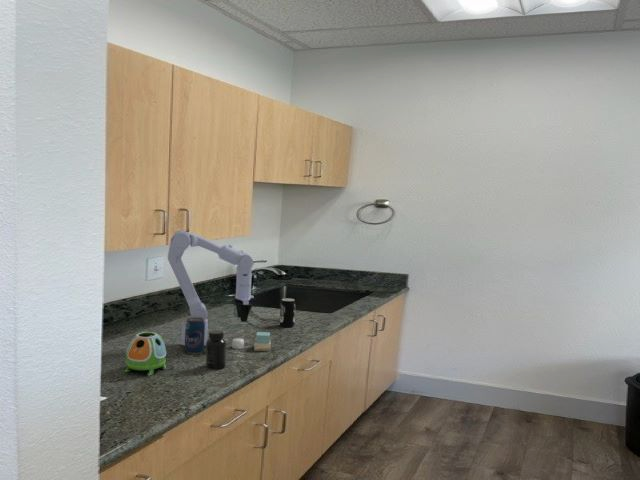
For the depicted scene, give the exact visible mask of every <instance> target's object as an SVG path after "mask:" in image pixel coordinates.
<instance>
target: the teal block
mask: <svg viewBox="0 0 640 480" xmlns="http://www.w3.org/2000/svg"><path fill="white" fill-rule="evenodd" d="M255 336H256V337H255V339H256V343H267V344H269V343H270V340H271V332H266V331H265V332H264V331H257V332H256V335H255Z"/></svg>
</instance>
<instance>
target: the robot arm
mask: <svg viewBox="0 0 640 480" xmlns="http://www.w3.org/2000/svg"><path fill="white" fill-rule="evenodd" d="M189 246H190V247H191V248H194V247H200V248H203V249H205V250H208V251H210V252H213V253H215V254H217V256H218V258H219V259H220V260H223V261H225V262H227V263H229V264H231V265H233V266H235V265H236V266H237V268H236V269H237V272H236V282H235V286H236V287H235V296H234V297H235V298H233V301H234V303H235V304H234V305H235V308H236V313H237V314H236V315H237V317H238V318H240V322H242V323H245V322H248V318H249V315H250V311H251V309H252V308H253V304H252V303H250V302H249V301H250V300H251V299H255V297H254V295H252V277H253V276H252V275H253V274H252V268H253V266H254V260H253V258H252V256H251V255H250V254H247V252H244V251H243V250H238V249H236V248H233V245H231V244H228V245H227V244H224V245H219V244H217V243H215V242H213V241H211V240H209V239H207V238H205V237H202V236H200V235H199V234H196V233H193V232H188V231H186V230H183V229H180V230H177V231H175V232H174V233H173V235H172V237H171V239H170V243H169V247H168V248H169V249H168V253H167V262H169V264H170V267H171V270H172V272H173V274H174V276H175V278H176V280H177V282H178V285H179V287H180V289H181V292H182V293H183V295H184V298H185V300H186V302H187V305H188V308H189V313H190V318H202V319H203V321H204V323H205V336H204V347H206V342H207V340H208V328H209V326H208V324H209V323H208V322H209V320H208V315H209V314H208V309H207V307H206V305H205V303H204V302H202V301H201V299H200V297H199V295H198V294H197V293H198V292H197V291H196V289H195V286H194V284H193V282H192V279H191V278H190V276H189V273H188V271H187V269H186V266H185V265H184V262H183V260H182V257H183V255H184V253H185V251H186V250H187V249H188V248H189ZM185 325H186V323H184V324H183V325H182V326H181V330H180V331H181V333H180V334H181V336H180V337H181V338H180V343H179V345H181V346H184V347H185Z"/></svg>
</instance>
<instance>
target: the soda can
mask: <svg viewBox="0 0 640 480" xmlns="http://www.w3.org/2000/svg"><path fill="white" fill-rule="evenodd" d="M185 322H186V323H185V324H186V325H185V346H184V350H185V351H186V353H188V354H194V355H195V354H201V353H202V352H203V351H204V350H205V346H204V336H205V323H204V321H203V319H202V318H191V317H190V318H189V317H188V318H187V321H185Z"/></svg>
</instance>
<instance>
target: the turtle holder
mask: <svg viewBox="0 0 640 480" xmlns="http://www.w3.org/2000/svg"><path fill="white" fill-rule="evenodd" d="M166 348H167V347H166V345H165V342H164V339H163V336H162V335H160V334H159V333H157V332H154V331H142V332H139V333H136V334H135V337H134V338H132V339H131V341H130V343H129V345H128V346H127V349H126V352H125V365H126V367H127V368H126V369H125V372H126V373H130V372H132V370H134V371H148V372H147V375H146V376H148V377H151V376H153V375H154V374H155V373H154V372H155V370H156V369H159V368H161V370H162V369H164V370H166V369H167V366H166V362H167V360H166V355H167V349H166ZM150 375H151V376H150Z"/></svg>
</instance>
